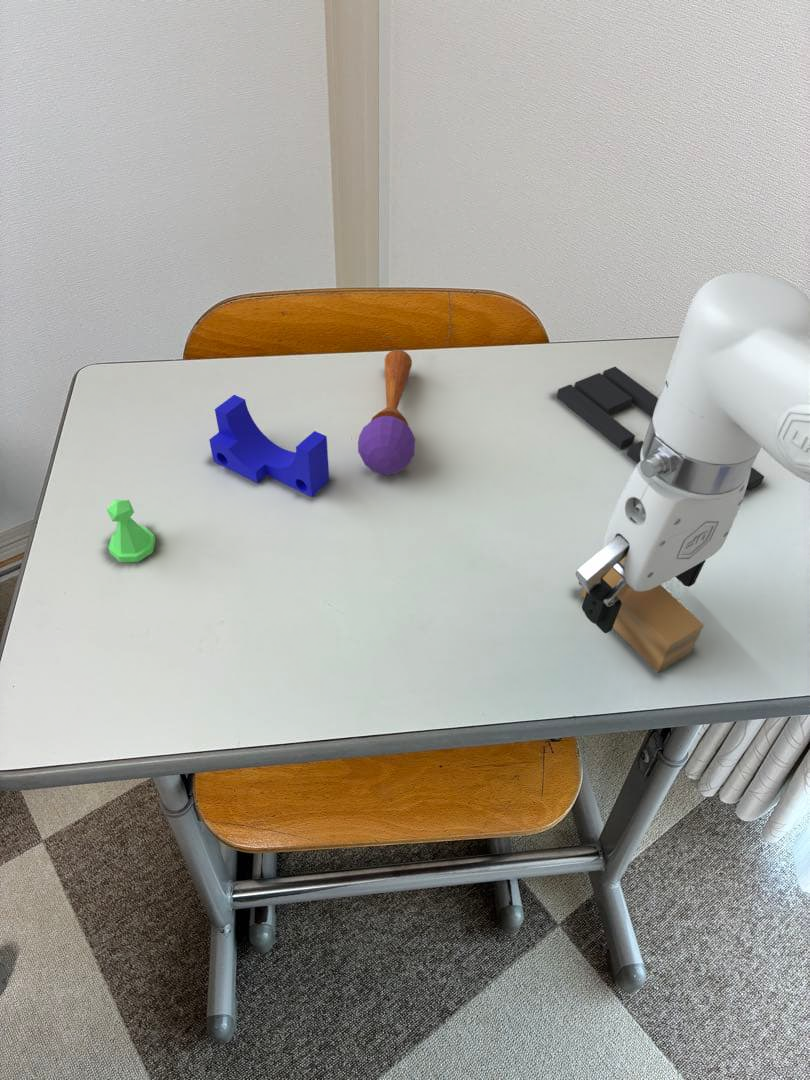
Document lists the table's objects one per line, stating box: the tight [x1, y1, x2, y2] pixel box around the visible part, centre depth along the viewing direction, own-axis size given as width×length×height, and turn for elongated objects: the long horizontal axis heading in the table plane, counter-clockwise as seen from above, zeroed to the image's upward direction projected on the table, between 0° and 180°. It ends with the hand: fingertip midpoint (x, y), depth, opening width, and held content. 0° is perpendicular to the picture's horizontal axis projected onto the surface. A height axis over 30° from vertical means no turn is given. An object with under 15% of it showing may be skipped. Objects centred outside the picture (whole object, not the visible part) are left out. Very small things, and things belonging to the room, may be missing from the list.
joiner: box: [580, 557, 705, 673], centre depth 70 cm, size 10×4×4 cm, turn 33°
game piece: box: [106, 499, 157, 563], centre depth 74 cm, size 4×4×6 cm
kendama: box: [357, 349, 416, 475], centre depth 88 cm, size 6×6×20 cm
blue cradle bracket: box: [208, 394, 330, 498], centre depth 82 cm, size 12×4×6 cm, turn 58°
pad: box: [556, 366, 659, 450], centre depth 92 cm, size 11×9×1 cm
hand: (638, 597), depth 69 cm, fingers open, 9 cm apart
